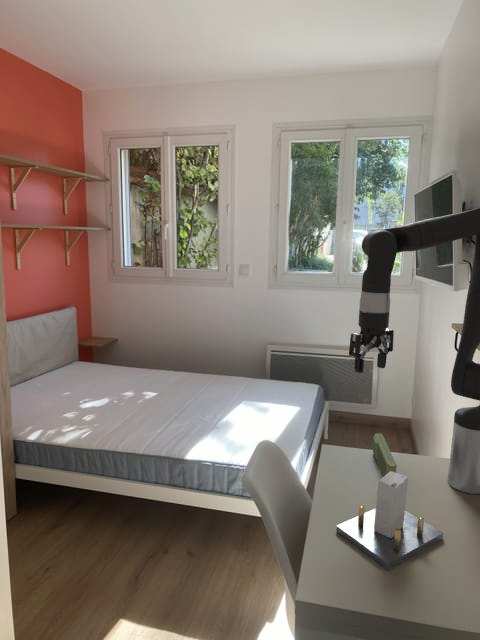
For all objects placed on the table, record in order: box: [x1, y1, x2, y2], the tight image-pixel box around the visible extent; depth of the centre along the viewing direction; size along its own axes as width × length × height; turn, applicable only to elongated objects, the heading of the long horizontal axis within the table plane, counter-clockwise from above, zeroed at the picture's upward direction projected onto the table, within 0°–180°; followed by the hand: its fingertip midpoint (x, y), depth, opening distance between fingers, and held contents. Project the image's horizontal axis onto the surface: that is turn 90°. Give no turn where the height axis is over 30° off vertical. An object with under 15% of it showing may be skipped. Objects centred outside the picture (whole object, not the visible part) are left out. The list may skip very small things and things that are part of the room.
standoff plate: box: [336, 505, 444, 571], centre depth 99 cm, size 18×14×6 cm
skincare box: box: [374, 471, 409, 538], centre depth 98 cm, size 6×4×12 cm
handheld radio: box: [372, 433, 398, 478], centre depth 125 cm, size 7×3×25 cm
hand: (370, 370), depth 119 cm, fingers open, 8 cm apart
